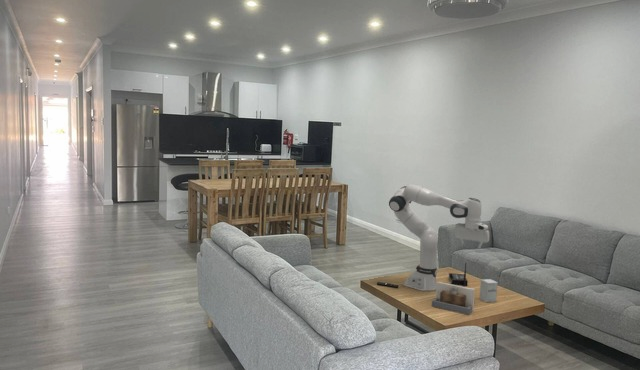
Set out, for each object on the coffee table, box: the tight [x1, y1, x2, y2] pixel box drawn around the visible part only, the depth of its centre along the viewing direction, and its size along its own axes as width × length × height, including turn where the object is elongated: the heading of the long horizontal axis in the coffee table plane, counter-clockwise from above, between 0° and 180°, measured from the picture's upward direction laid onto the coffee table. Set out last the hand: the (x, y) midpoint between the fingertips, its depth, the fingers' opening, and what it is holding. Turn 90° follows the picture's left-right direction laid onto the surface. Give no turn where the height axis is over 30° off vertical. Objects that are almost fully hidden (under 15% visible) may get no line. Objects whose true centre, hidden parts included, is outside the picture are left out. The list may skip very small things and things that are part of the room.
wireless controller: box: [448, 262, 468, 287], centre depth 325 cm, size 20×14×17 cm
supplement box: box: [479, 278, 499, 303], centre depth 291 cm, size 7×7×13 cm
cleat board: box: [431, 281, 476, 316], centre depth 275 cm, size 22×9×13 cm, turn 58°
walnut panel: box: [440, 286, 466, 307], centre depth 275 cm, size 14×4×13 cm, turn 58°
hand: (471, 247), depth 283 cm, fingers open, 8 cm apart
